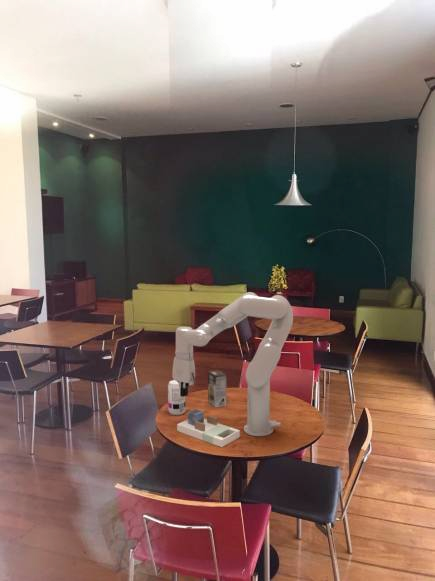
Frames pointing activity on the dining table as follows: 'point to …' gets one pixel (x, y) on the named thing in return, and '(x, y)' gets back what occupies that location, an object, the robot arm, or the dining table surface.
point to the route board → (210, 431)
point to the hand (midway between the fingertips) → (184, 395)
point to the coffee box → (217, 388)
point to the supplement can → (175, 399)
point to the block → (195, 416)
